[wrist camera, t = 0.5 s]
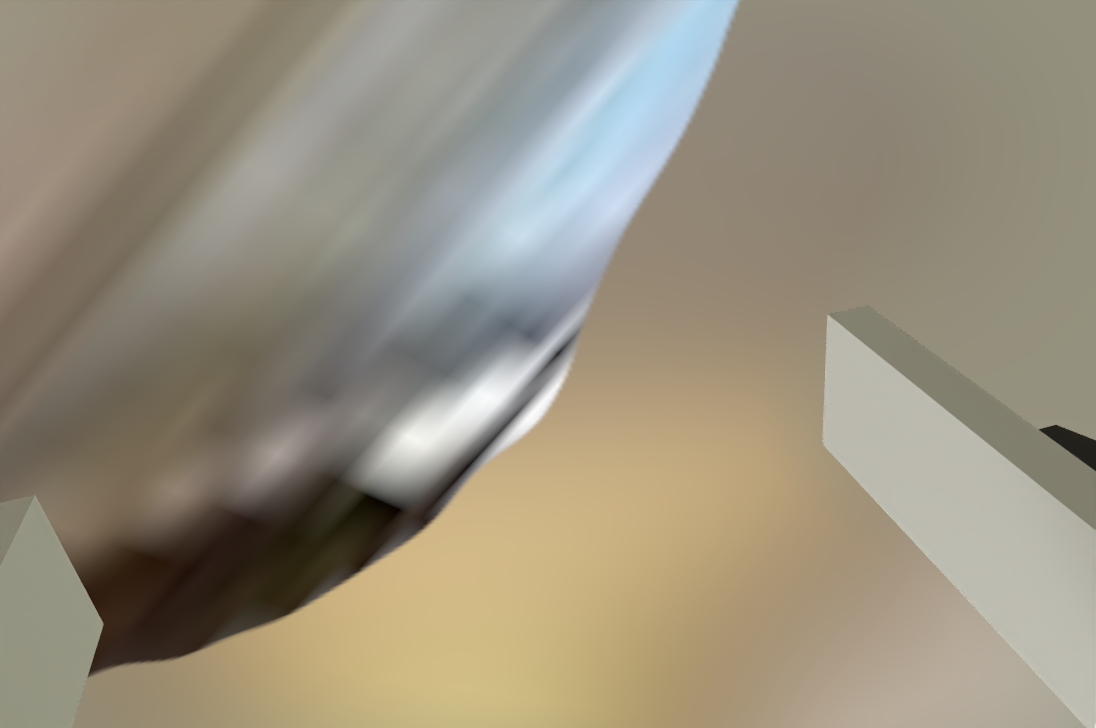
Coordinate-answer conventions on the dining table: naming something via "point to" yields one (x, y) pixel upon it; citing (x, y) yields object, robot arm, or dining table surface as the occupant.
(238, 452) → the dining table surface
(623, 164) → the dining table surface
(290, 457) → the dining table surface
